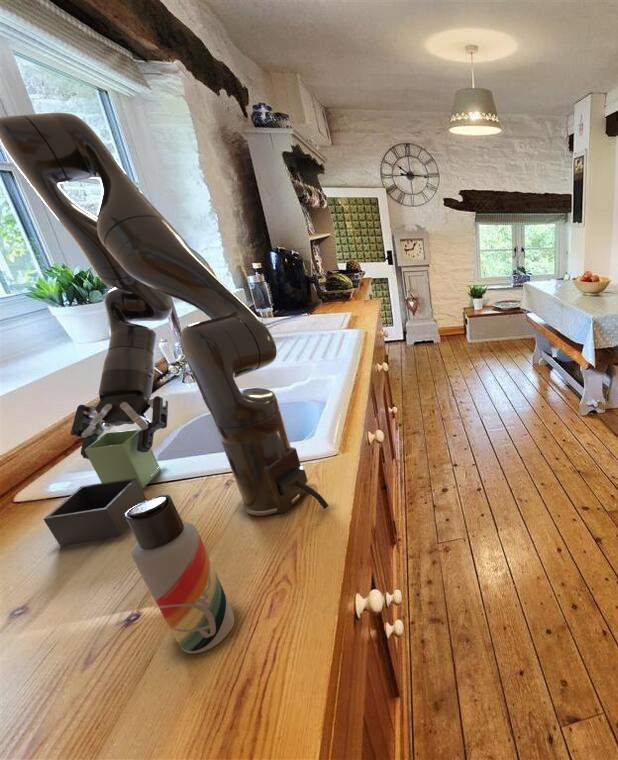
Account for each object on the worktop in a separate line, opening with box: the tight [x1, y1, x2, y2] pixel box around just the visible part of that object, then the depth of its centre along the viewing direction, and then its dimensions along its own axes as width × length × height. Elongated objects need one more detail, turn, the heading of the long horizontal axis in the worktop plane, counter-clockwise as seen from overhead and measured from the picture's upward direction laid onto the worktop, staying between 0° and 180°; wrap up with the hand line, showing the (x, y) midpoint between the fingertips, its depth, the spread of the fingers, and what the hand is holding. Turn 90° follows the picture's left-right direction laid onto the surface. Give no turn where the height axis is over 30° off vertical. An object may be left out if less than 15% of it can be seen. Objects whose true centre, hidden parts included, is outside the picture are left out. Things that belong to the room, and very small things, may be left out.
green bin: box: [85, 428, 162, 489], centre depth 78 cm, size 6×6×10 cm
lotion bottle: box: [125, 494, 235, 654], centre depth 47 cm, size 6×6×20 cm
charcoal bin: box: [43, 478, 148, 547], centre depth 68 cm, size 8×8×6 cm
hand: (116, 455), depth 75 cm, fingers open, 8 cm apart
